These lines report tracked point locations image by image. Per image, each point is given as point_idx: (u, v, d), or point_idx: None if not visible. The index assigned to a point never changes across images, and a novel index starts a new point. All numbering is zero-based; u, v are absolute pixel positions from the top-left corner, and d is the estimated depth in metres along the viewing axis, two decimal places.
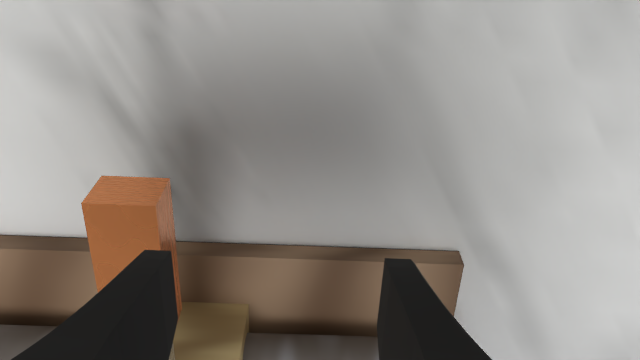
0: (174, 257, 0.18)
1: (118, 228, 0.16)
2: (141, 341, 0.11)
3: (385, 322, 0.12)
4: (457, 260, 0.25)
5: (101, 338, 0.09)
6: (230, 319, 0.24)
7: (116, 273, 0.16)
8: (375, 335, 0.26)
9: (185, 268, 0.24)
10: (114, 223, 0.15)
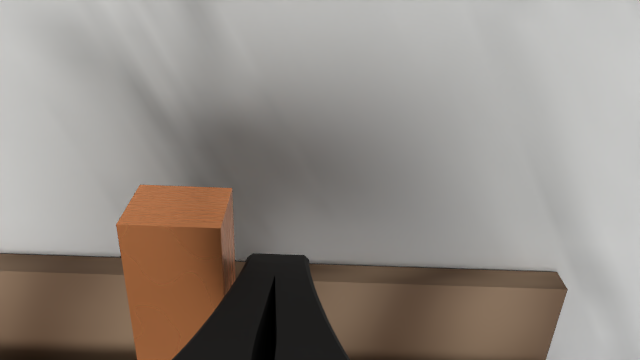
0: None
1: (166, 258, 0.11)
2: (265, 345, 0.11)
3: (274, 318, 0.12)
4: (558, 284, 0.20)
5: (248, 343, 0.09)
6: None
7: (161, 318, 0.12)
8: None
9: None
10: (161, 252, 0.11)
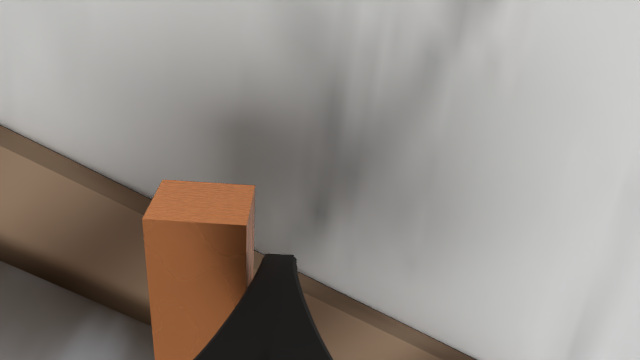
0: None
1: (190, 254, 0.11)
2: None
3: None
4: None
5: (268, 343, 0.09)
6: None
7: (181, 314, 0.12)
8: None
9: None
10: (185, 247, 0.11)
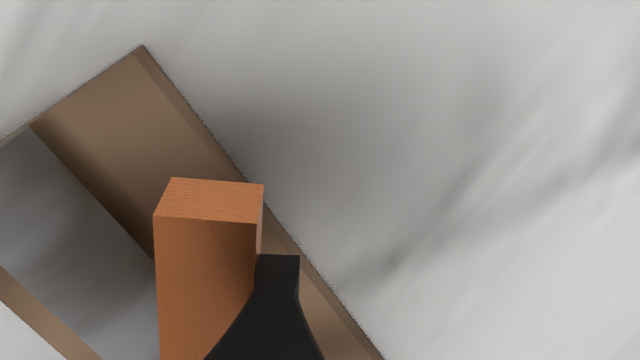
0: None
1: (199, 251, 0.11)
2: None
3: None
4: None
5: (276, 344, 0.09)
6: None
7: (188, 311, 0.12)
8: None
9: (326, 331, 0.21)
10: (195, 245, 0.11)
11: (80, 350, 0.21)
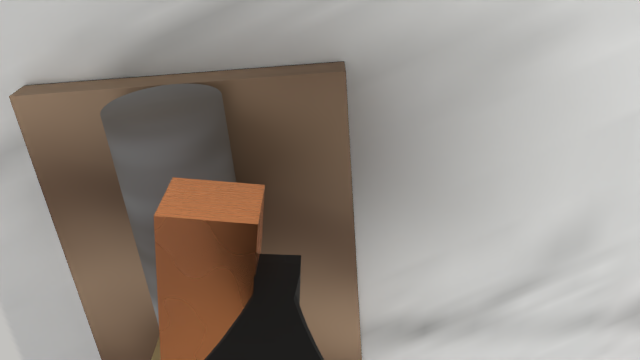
0: None
1: (200, 251, 0.11)
2: None
3: None
4: None
5: (278, 344, 0.09)
6: None
7: (188, 312, 0.12)
8: None
9: None
10: (196, 245, 0.11)
11: (101, 299, 0.20)
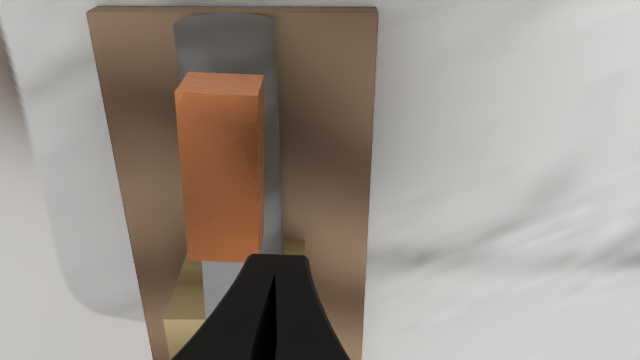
0: (262, 168, 0.16)
1: (212, 122, 0.14)
2: (265, 345, 0.11)
3: (274, 318, 0.12)
4: None
5: (247, 343, 0.09)
6: None
7: (206, 178, 0.15)
8: None
9: (348, 287, 0.25)
10: (209, 117, 0.14)
11: (142, 206, 0.23)
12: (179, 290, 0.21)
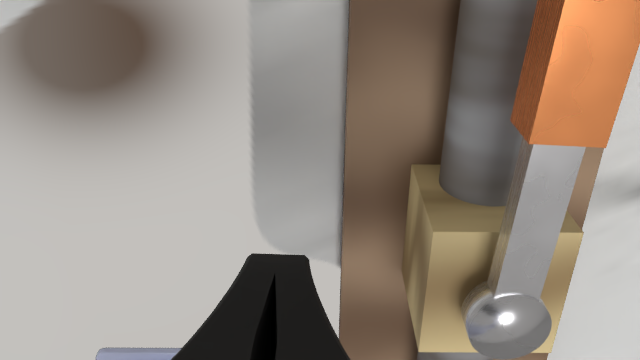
0: None
1: None
2: (265, 345, 0.11)
3: (274, 318, 0.12)
4: None
5: (247, 343, 0.09)
6: None
7: (581, 41, 0.13)
8: None
9: None
10: None
11: (367, 125, 0.21)
12: (431, 206, 0.19)
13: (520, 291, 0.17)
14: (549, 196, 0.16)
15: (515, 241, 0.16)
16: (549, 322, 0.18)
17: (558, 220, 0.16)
